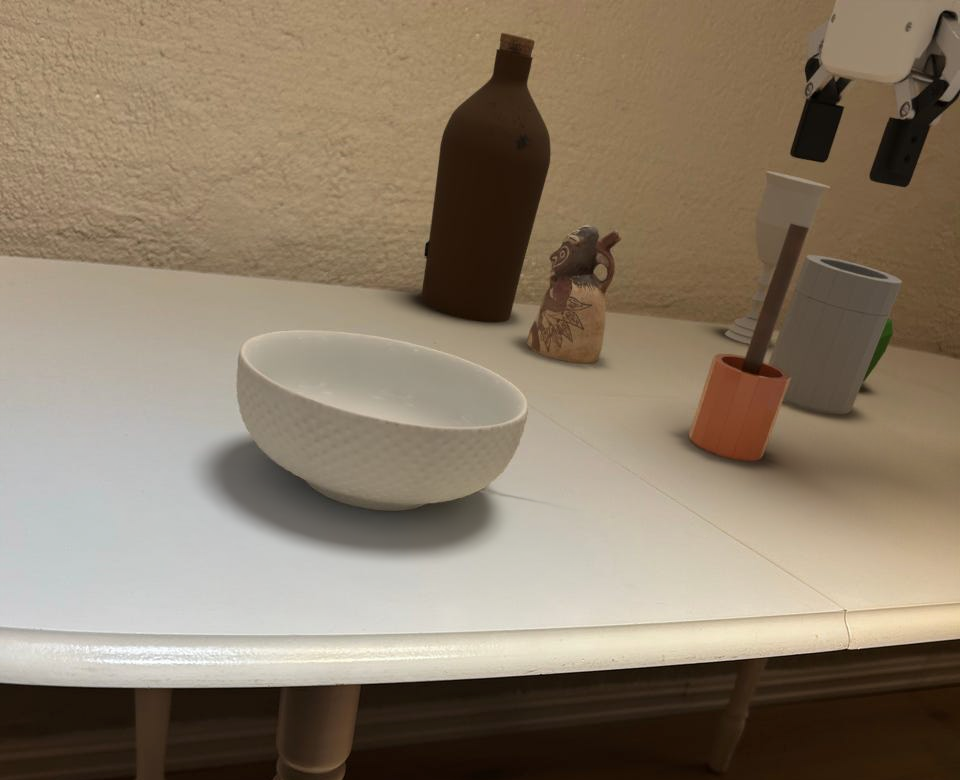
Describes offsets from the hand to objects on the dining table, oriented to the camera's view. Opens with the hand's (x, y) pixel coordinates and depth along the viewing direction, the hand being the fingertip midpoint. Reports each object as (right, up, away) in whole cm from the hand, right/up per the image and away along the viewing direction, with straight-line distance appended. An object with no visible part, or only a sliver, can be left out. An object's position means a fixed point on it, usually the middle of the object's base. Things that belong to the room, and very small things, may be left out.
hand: (845, 171), depth 77 cm
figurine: (-19, -7, +23) cm, 31 cm away
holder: (-7, -19, +7) cm, 22 cm away
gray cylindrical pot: (+6, -11, +27) cm, 30 cm away
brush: (-7, -19, +7) cm, 21 cm away
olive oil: (-28, 0, +31) cm, 42 cm away
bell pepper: (+12, -6, +38) cm, 40 cm away
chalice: (+5, +1, +47) cm, 47 cm away
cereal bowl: (-34, -25, -13) cm, 44 cm away
